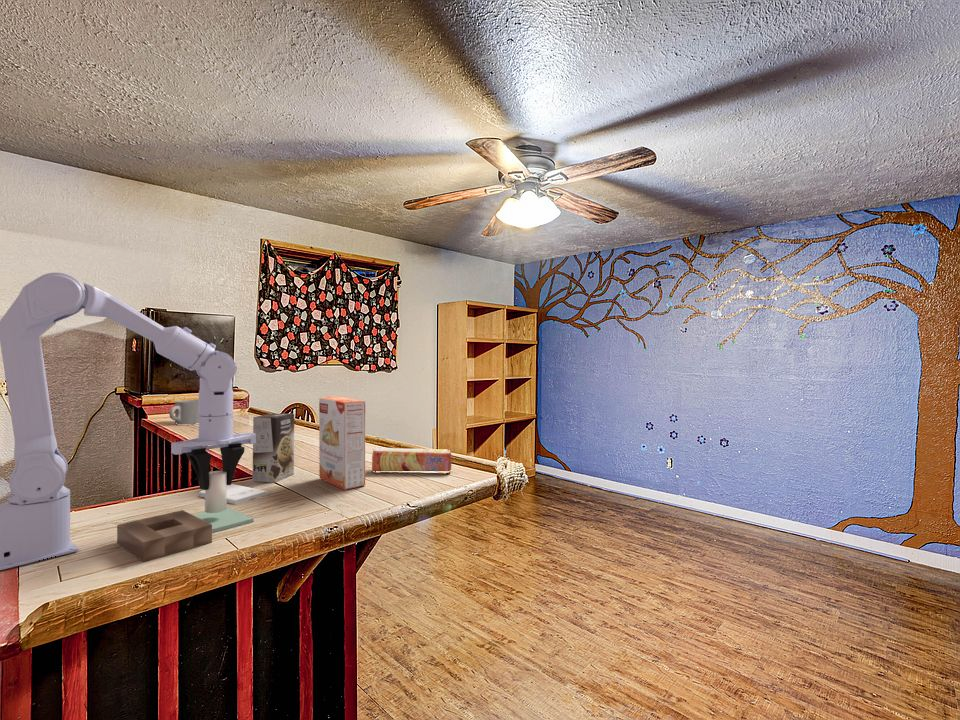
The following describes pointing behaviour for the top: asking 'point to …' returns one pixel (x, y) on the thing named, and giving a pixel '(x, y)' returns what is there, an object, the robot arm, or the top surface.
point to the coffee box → (273, 447)
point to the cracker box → (342, 441)
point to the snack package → (411, 459)
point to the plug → (216, 492)
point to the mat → (224, 519)
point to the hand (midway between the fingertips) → (215, 486)
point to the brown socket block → (163, 535)
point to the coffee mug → (185, 412)
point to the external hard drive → (240, 494)
